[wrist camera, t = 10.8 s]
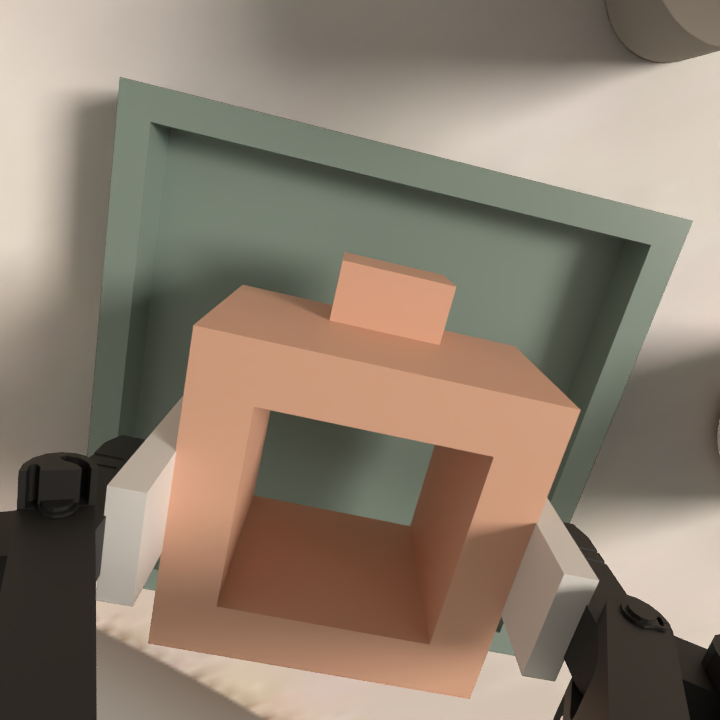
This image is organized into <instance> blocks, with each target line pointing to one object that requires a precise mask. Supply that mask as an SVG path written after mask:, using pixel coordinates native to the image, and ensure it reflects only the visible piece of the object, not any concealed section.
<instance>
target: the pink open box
mask: <svg viewBox="0 0 720 720" xmlns="http://www.w3.org/2000/svg"><path fill="white" fill-rule="evenodd" d="M455 290H456V286H455V285H454V284H453V283H452V282H451V281H450V280H449V279H448V278H447V277H445V276H444V275H441V274H437V273H432V272H428V271H424V270H420V269H415V268H411V267H407V266H403V265H398V264H394V263H390V262H385V261H381V260H377V259H373V258H368V257H364V256H360V255H356V254H351V253H347V252H344V256H343V260H342V265H341V269H340V274H339V278H338V283H337V287H336V292H335V296H334V301H333V305H331V304H326V303H322V302H317V301H313V300H309V299H304V298H300V297H295V296H291V295H286V294H282V293H278V292H273V291H269V290H264V289H260V288H255V287H251V286H247V285H242V286H241V287H239V288H238V289H237V290H236V291H234V292H233V293H232V294H231V295H230V296H228V297H227V298H226V299H225V300H224V301H222V302H221V303H220V304H219V305H217V306H216V307H215V308H214V309H213V310H211V311H210V312H209V313H208V314H206V315H205V316H204V317H203V318H202V319H200V320H199V321H198V322H197V323H195V324H194V325H193V332H192V339H191V346H190V353H189V360H188V367H187V374H186V381H185V388H184V395H183V402H182V409H181V416H180V423H179V430H178V437H177V444H176V457H175V464H174V471H173V478H172V485H171V492H170V499H169V506H168V513H167V520H166V527H165V534H164V541H163V548H162V553H161V556H160V563H159V570H158V577H157V584H156V591H155V598H154V605H153V612H152V619H151V627H150V634H149V641H148V643H149V644H154V645H160V646H166V647H172V648H178V649H183V650H189V651H195V652H201V653H207V654H212V655H218V656H224V657H230V658H236V659H241V660H247V661H253V662H259V663H265V664H270V665H276V666H282V667H288V668H294V669H299V670H305V671H311V672H317V673H323V674H328V675H334V676H340V677H346V678H352V679H357V680H363V681H369V682H375V683H381V684H386V685H392V686H398V687H404V688H410V689H415V690H421V691H427V692H433V693H439V694H444V695H450V696H456V697H462V698H468V699H470V697H471V694H472V691H473V689H474V686H475V684H476V681H477V678H478V676H479V673H480V671H481V668H482V665H483V663H484V660H485V658H486V655H487V652H488V650H489V647H490V645H491V642H492V639H493V637H494V634H495V632H496V629H497V626H498V624H499V621H500V619H501V614H502V611H503V608H504V606H505V603H506V601H507V598H508V595H509V593H510V590H511V588H512V585H513V582H514V580H515V577H516V575H517V572H518V569H519V567H520V564H521V562H522V559H523V556H524V554H525V551H526V549H527V546H528V543H529V541H530V538H531V536H532V533H533V530H534V528H535V525H536V523H538V520H539V517H540V515H541V512H542V510H543V507H544V504H545V502H546V499H547V497H548V494H549V491H550V489H551V486H552V484H553V481H554V478H555V476H556V473H557V471H558V468H559V465H560V463H561V460H562V458H563V455H564V452H565V450H566V447H567V445H568V442H569V439H570V437H571V434H572V432H573V429H574V426H575V424H576V421H577V419H578V416H579V413H580V411H581V410H580V409H579V408H578V407H577V406H576V405H575V404H574V403H573V402H572V401H571V400H570V399H569V398H568V397H567V396H566V395H565V394H564V393H563V392H562V391H561V390H560V389H559V388H558V387H557V386H555V385H554V384H553V383H552V382H551V381H550V380H549V379H548V378H547V377H546V376H545V375H544V374H543V373H542V372H541V371H540V370H539V369H538V368H537V367H536V366H535V365H534V364H533V363H532V362H531V361H530V360H529V359H528V358H527V357H525V356H524V355H523V354H522V353H521V352H520V351H519V350H518V349H517V348H516V347H515V346H512V345H507V344H503V343H499V342H494V341H490V340H485V339H481V338H476V337H472V336H468V335H463V334H459V333H454V332H450V331H445V330H444V329H445V325H446V322H447V318H448V315H449V311H450V308H451V304H452V301H453V297H454V294H455ZM270 410H272V411H277V412H281V413H286V414H291V415H296V416H300V417H305V418H310V419H315V420H320V421H324V422H329V423H334V424H339V425H344V426H348V427H353V428H358V429H363V430H367V431H372V432H377V433H382V434H387V435H391V436H396V437H401V438H406V439H410V440H415V441H420V442H425V443H430V444H434V445H435V446H434V449H433V452H432V456H431V459H430V462H429V465H428V469H427V472H426V475H425V479H424V482H423V485H422V489H421V492H420V495H419V498H418V502H417V505H416V508H415V512H414V515H413V518H412V522H411V525H410V526H408V525H403V524H397V523H392V522H387V521H382V520H377V519H372V518H367V517H362V516H357V515H352V514H347V513H341V512H336V511H331V510H326V509H321V508H316V507H311V506H306V505H301V504H296V503H291V502H285V501H280V500H275V499H270V498H265V497H260V496H255V495H254V492H255V487H256V482H257V477H258V471H259V466H260V461H261V456H262V451H263V446H264V441H265V436H266V431H267V426H268V421H269V416H270Z"/></svg>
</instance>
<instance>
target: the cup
mask: <svg viewBox="0 0 720 720" xmlns="http://www.w3.org/2000/svg"><path fill="white" fill-rule="evenodd" d="M606 7H607V12H608V16H609V20H610V22H611V25H612V27H613V29H614V32H615V33H616V35H617V36H618V38H619V39H620V40H621V42H622V43H623V44H624V45H625V46H626V47H627V48H628V49H629V50H630V51H632V52H633V53H635V54H636V55H638V56H640V57H642V58H644V59H647V60H650V61H654V62H663V63H670V62H678V61H682V60H686V59H690V58H694V57H697V56H701V55H705V54H709V53H712V52H716V51H720V0H606Z"/></svg>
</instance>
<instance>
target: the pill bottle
mask: <svg viewBox="0 0 720 720" xmlns="http://www.w3.org/2000/svg"><path fill="white" fill-rule="evenodd" d="M717 443H718V450H719V455H720V420H719V425H718V433H717Z"/></svg>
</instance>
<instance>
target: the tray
mask: <svg viewBox="0 0 720 720" xmlns="http://www.w3.org/2000/svg"><path fill="white" fill-rule="evenodd" d="M692 222H693V221H691V220H687V219H683V218H680V217H676V216H672V215H668V214H664V213H660V212H656V211H652V210H648V209H644V208H640V207H636V206H632V205H628V204H624V203H620V202H616V201H612V200H608V199H604V198H600V197H596V196H592V195H588V194H584V193H580V192H576V191H572V190H568V189H564V188H560V187H556V186H552V185H548V184H544V183H540V182H536V181H532V180H528V179H524V178H520V177H516V176H512V175H508V174H504V173H500V172H496V171H492V170H488V169H484V168H480V167H476V166H472V165H469V164H465V163H461V162H457V161H453V160H449V159H445V158H441V157H437V156H433V155H429V154H425V153H421V152H417V151H413V150H409V149H405V148H401V147H397V146H393V145H389V144H385V143H381V142H377V141H373V140H369V139H365V138H361V137H357V136H353V135H349V134H345V133H341V132H337V131H333V130H329V129H325V128H321V127H317V126H313V125H309V124H305V123H301V122H297V121H293V120H289V119H285V118H281V117H277V116H273V115H269V114H265V113H261V112H258V111H254V110H250V109H246V108H242V107H238V106H234V105H230V104H226V103H222V102H218V101H214V100H210V99H206V98H202V97H198V96H194V95H190V94H186V93H182V92H178V91H174V90H170V89H166V88H162V87H158V86H154V85H150V84H146V83H142V82H138V81H134V80H130V79H126V78H122V77H120V81H119V93H118V104H117V116H116V127H115V139H114V151H113V162H112V174H111V186H110V197H109V209H108V221H107V232H106V244H105V256H104V267H103V279H102V291H101V302H100V314H99V326H98V337H97V349H96V361H95V372H94V384H93V396H92V407H91V419H90V430H89V442H88V454H87V457H90V456H91V455H94V452H95V451H96V450H97V449H98V448H99V447H100V446H101V445H102V444H103V443H104V442H106V441H109V440H111V439H113V438H116V437H118V436H120V435H125V436H130V437H135V438H140V439H145V440H146V439H147V438H148V437H149V435H150V434H151V433H152V432H153V431H154V430H155V428H156V427H157V426H158V425H159V424H160V422H161V421H162V420H163V419H164V418H165V417H166V415H167V414H168V413H169V412H170V411H171V409H172V408H173V407H174V406H175V405H176V404H177V402H178V401H179V400H180V399H181V398H182V397H183V395H184V388H185V381H186V374H187V367H188V360H189V353H190V346H191V339H192V332H193V325H194V324H195V323H197V322H198V321H199V320H200V319H202V318H203V317H204V316H205V315H206V314H208V313H209V312H210V311H211V310H213V309H214V308H215V307H216V306H217V305H219V304H220V303H221V302H222V301H224V300H225V299H226V298H227V297H228V296H230V295H231V294H232V293H233V292H234V291H236V290H237V289H238V288H239V287H241V286H242V285H247V286H251V287H255V288H260V289H264V290H269V291H273V292H278V293H282V294H286V295H291V296H295V297H300V298H304V299H309V300H313V301H317V302H322V303H326V304H331V305H333V301H334V296H335V292H336V287H337V283H338V278H339V274H340V269H341V265H342V260H343V256H344V252H347V253H351V254H356V255H360V256H364V257H368V258H373V259H377V260H381V261H385V262H390V263H394V264H398V265H403V266H407V267H411V268H415V269H420V270H424V271H428V272H432V273H437V274H441V275H444V276H445V277H447V278H448V279H449V280H450V281H451V282H452V283H453V284H454V285H455V286H456V290H455V294H454V297H453V301H452V304H451V308H450V311H449V315H448V318H447V322H446V325H445V329H444V330H445V331H450V332H454V333H459V334H463V335H468V336H472V337H476V338H481V339H485V340H490V341H494V342H499V343H503V344H507V345H512V346H515V347H516V348H517V349H518V350H519V351H520V352H521V353H522V354H523V355H524V356H525V357H527V358H528V359H529V360H530V361H531V362H532V363H533V364H534V365H535V366H536V367H537V368H538V369H539V370H540V371H541V372H542V373H543V374H544V375H545V376H546V377H547V378H548V379H549V380H550V381H551V382H552V383H553V384H554V385H555V386H557V387H558V388H559V389H560V390H561V391H562V392H563V393H564V394H565V395H566V396H567V397H568V398H569V399H570V400H571V401H572V402H573V403H574V404H575V405H576V406H577V407H578V408H579V409H580V410H581V411H580V413H579V416H578V419H577V421H576V424H575V426H574V429H573V432H572V434H571V437H570V439H569V442H568V445H567V447H566V450H565V452H564V455H563V458H562V460H561V463H560V465H559V468H558V471H557V473H556V476H555V478H554V481H553V484H552V486H551V489H550V491H549V494H548V497H547V498H548V500H549V502H550V503H551V505H552V506H553V508H554V509H555V511H556V513H557V514H558V516H559V517H560V519H561V521H562V522H565V523H570V521H571V519H572V516H573V514H574V511H575V509H576V506H577V504H578V501H579V499H580V496H581V494H582V492H583V489H584V487H585V484H586V482H587V479H588V477H589V474H590V472H591V470H592V467H593V465H594V462H595V460H596V457H597V455H598V452H599V450H600V447H601V445H602V443H603V440H604V438H605V435H606V433H607V430H608V428H609V425H610V423H611V421H612V418H613V416H614V413H615V411H616V408H617V406H618V403H619V401H620V398H621V396H622V394H623V391H624V389H625V386H626V384H627V381H628V379H629V376H630V374H631V372H632V369H633V367H634V364H635V362H636V359H637V357H638V354H639V352H640V349H641V347H642V345H643V342H644V340H645V337H646V335H647V332H648V330H649V327H650V325H651V323H652V320H653V318H654V315H655V313H656V310H657V308H658V305H659V303H660V300H661V298H662V296H663V293H664V291H665V288H666V286H667V283H668V281H669V278H670V276H671V274H672V271H673V269H674V266H675V264H676V261H677V259H678V256H679V254H680V251H681V249H682V247H683V244H684V242H685V239H686V237H687V234H688V232H689V229H690V227H691V225H692ZM434 446H435V445H434V444H430V443H425V442H420V441H415V440H410V439H406V438H401V437H396V436H391V435H387V434H382V433H377V432H372V431H367V430H363V429H358V428H353V427H348V426H344V425H339V424H334V423H329V422H324V421H320V420H315V419H310V418H305V417H300V416H296V415H291V414H286V413H281V412H277V411H272V410H270V416H269V421H268V426H267V431H266V436H265V441H264V446H263V451H262V456H261V461H260V466H259V471H258V477H257V482H256V487H255V492H254V495H255V496H260V497H265V498H270V499H275V500H280V501H285V502H291V503H296V504H301V505H306V506H311V507H316V508H321V509H326V510H331V511H336V512H341V513H347V514H352V515H357V516H362V517H367V518H372V519H377V520H382V521H387V522H392V523H397V524H403V525H408V526H410V525H411V522H412V518H413V515H414V512H415V508H416V505H417V502H418V498H419V495H420V492H421V489H422V485H423V482H424V479H425V475H426V472H427V469H428V465H429V462H430V459H431V456H432V452H433V449H434ZM160 556H161V555H160ZM159 563H160V557H159V558H158V560H157V562H156V564H155V566H154V568H153V570H152V571H151V573H150V575H149V577H148V579H147V581H146V583H145V584H144V586H143V589H149V590H155V591H156V584H157V577H158V570H159ZM488 651H491V652H496V653H502V654H507V655H513V656H515V654H514V651H513V648H512V645H511V642H510V639H509V636H508V633H507V631H506V628H505V625H504V622H503V619H502V616H501V619H500V621H499V624H498V626H497V629H496V632H495V634H494V637H493V639H492V642H491V645H490V647H489V650H488Z"/></svg>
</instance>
